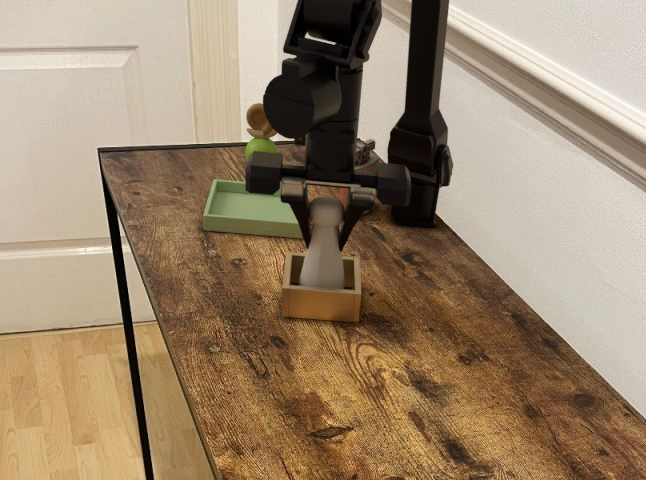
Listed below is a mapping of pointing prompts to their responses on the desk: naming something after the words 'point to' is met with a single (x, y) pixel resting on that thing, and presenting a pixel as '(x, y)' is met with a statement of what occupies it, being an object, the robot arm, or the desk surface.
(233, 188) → the tray
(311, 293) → the open brown box
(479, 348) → the desk surface
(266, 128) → the snail figurine
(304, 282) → the salt shaker
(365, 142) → the lighter
